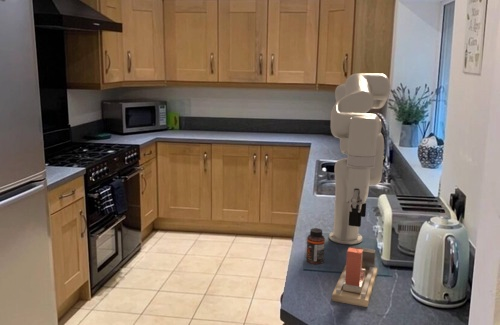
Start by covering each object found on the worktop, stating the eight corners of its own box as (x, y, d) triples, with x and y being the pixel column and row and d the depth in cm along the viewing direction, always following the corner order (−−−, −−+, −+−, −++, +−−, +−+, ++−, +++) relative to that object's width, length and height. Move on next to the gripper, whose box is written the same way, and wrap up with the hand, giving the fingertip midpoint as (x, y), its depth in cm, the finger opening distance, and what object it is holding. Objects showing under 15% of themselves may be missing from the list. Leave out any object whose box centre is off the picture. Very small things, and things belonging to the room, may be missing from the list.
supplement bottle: (303, 259, 169) (304, 227, 167) (318, 257, 171) (319, 226, 169) (311, 265, 164) (312, 233, 162) (326, 263, 166) (328, 231, 164)
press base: (346, 268, 162) (347, 245, 160) (377, 273, 159) (378, 250, 157) (331, 300, 140) (333, 274, 138) (367, 307, 137) (369, 280, 135)
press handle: (347, 279, 149) (349, 241, 146) (364, 282, 147) (366, 244, 145) (343, 290, 141) (345, 251, 139) (360, 293, 140) (363, 253, 137)
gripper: (352, 155, 144) (348, 211, 147) (341, 165, 128) (338, 228, 131) (378, 157, 142) (374, 214, 145) (371, 168, 126) (366, 231, 129)
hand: (357, 220), depth 138 cm, fingers open, 9 cm apart
